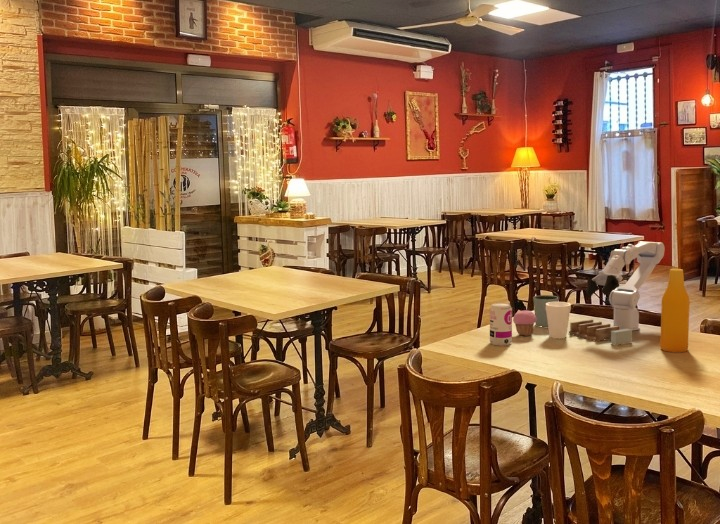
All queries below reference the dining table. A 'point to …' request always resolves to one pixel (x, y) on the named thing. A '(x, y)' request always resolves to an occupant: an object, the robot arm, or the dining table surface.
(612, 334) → the grey-green rectangular block
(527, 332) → the cupcake
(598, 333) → the rack
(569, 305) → the foam cup
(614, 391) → the dining table surface
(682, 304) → the beer bottle
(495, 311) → the supplement can
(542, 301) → the grey-green pot
